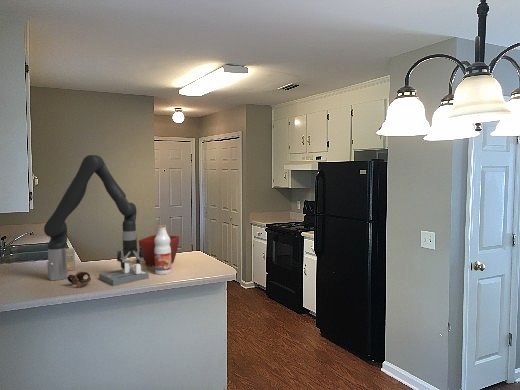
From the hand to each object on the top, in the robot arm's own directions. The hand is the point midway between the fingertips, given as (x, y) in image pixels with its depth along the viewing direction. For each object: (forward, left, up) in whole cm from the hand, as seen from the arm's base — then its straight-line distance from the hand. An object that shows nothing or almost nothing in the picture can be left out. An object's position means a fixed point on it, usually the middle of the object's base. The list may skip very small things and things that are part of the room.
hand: (130, 267), depth 236 cm
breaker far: (+1, +7, -2) cm, 7 cm away
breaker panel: (-4, 0, -6) cm, 7 cm away
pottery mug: (-27, +5, -6) cm, 28 cm away
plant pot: (+27, +16, -6) cm, 32 cm away
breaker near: (+1, -6, -2) cm, 7 cm away
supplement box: (-20, +44, -6) cm, 48 cm away
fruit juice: (+18, -4, -6) cm, 19 cm away
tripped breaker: (-3, 0, -2) cm, 4 cm away
